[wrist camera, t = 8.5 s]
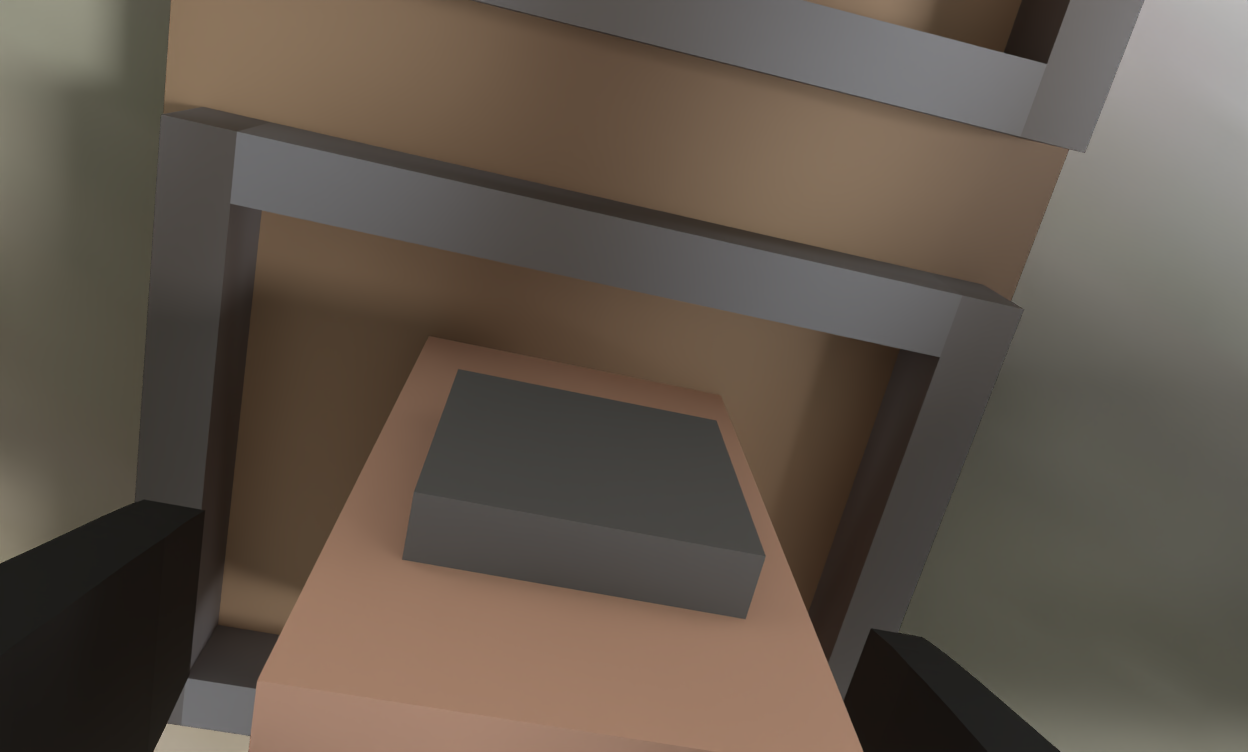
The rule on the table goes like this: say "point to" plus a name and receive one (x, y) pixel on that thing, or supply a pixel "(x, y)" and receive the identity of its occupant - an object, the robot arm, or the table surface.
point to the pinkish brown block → (550, 581)
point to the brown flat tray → (597, 254)
